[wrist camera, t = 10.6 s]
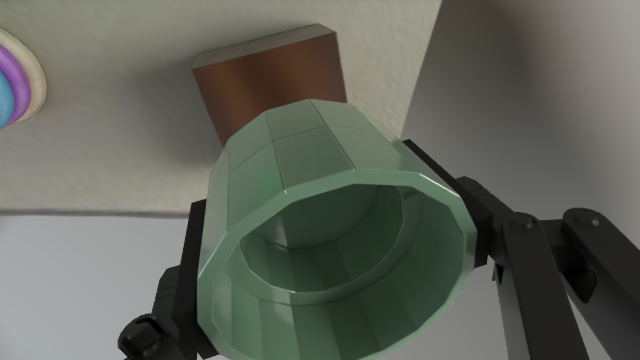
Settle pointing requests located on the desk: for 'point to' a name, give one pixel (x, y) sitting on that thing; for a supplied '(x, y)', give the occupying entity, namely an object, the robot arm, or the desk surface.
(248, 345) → the sage bowl
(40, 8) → the desk surface
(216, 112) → the walnut stand
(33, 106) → the stacking toy
